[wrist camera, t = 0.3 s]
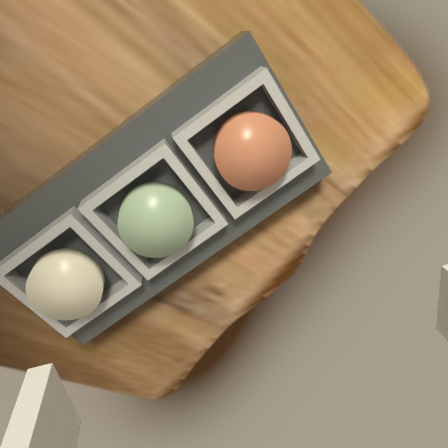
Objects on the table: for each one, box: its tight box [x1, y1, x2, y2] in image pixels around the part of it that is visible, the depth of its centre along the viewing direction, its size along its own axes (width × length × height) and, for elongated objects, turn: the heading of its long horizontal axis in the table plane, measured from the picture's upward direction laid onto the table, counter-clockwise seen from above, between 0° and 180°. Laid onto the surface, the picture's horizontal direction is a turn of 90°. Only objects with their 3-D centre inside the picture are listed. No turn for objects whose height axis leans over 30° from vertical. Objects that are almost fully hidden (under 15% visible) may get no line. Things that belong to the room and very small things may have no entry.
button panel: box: [0, 31, 332, 344], centre depth 36 cm, size 14×29×5 cm, turn 124°
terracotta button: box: [212, 111, 292, 191], centre depth 32 cm, size 6×6×2 cm
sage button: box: [118, 182, 194, 258], centre depth 33 cm, size 6×6×2 cm
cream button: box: [25, 248, 105, 320], centre depth 34 cm, size 6×6×2 cm
